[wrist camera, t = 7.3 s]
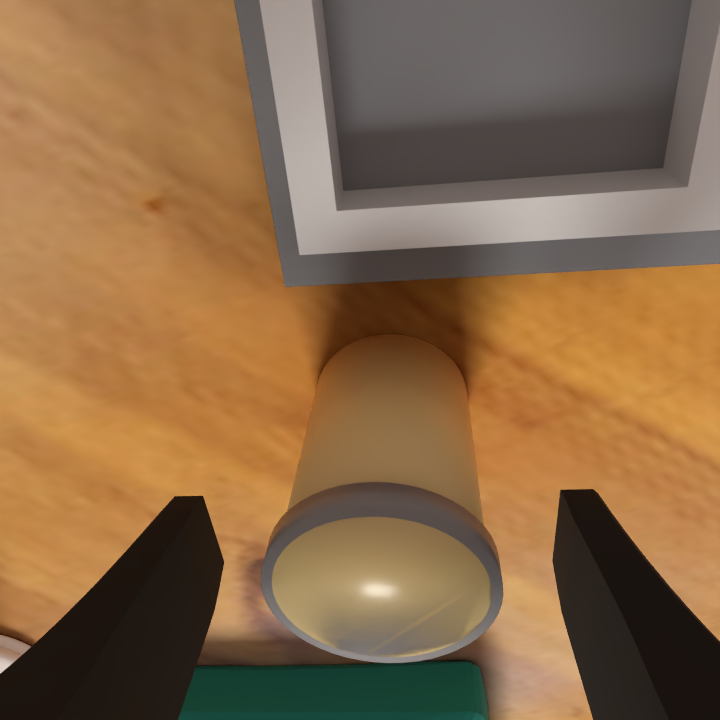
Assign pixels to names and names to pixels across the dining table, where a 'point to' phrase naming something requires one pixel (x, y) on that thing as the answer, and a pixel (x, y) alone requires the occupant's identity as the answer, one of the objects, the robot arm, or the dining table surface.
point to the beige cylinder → (385, 512)
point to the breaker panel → (486, 135)
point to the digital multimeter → (338, 692)
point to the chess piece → (10, 651)
